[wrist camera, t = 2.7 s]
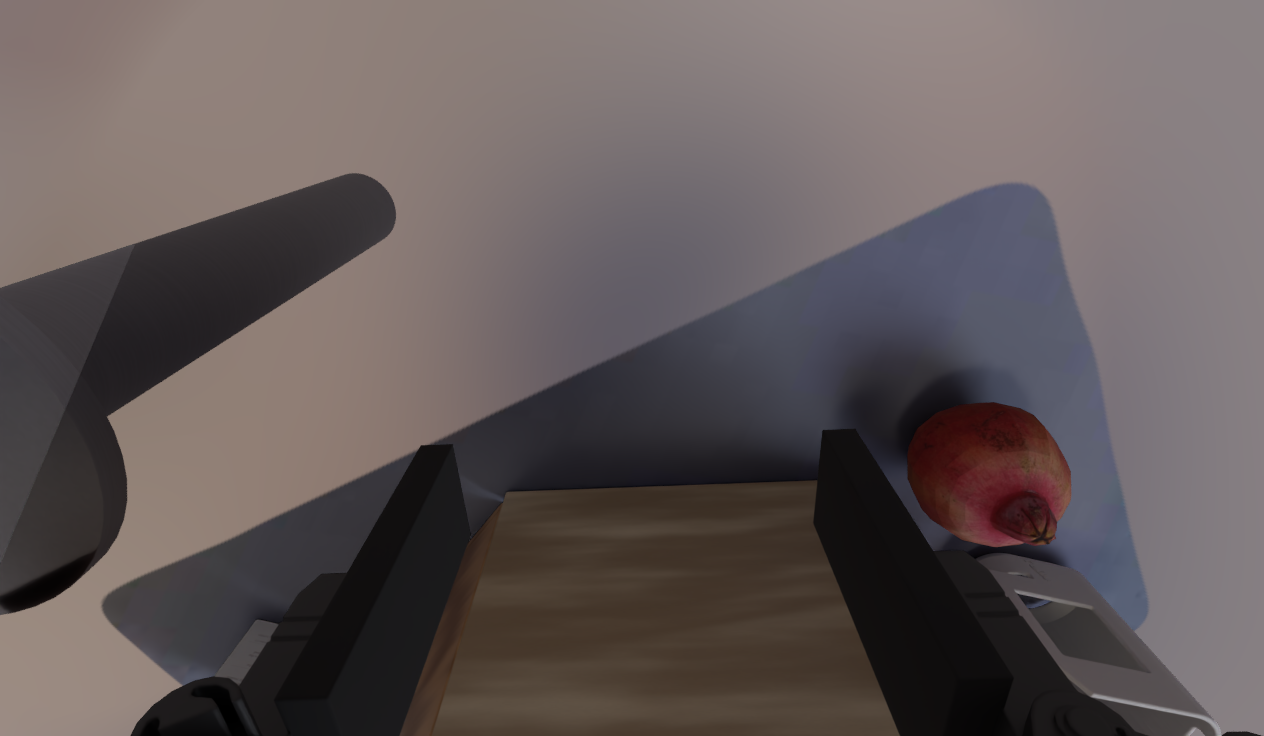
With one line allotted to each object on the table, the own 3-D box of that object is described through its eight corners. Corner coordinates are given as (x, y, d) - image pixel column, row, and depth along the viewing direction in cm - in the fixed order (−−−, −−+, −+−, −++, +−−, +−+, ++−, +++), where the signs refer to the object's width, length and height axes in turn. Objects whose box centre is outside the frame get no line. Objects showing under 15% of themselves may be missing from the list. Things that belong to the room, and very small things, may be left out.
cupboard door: (495, 424, 39) (329, 837, 18) (871, 409, 38) (1165, 815, 17) (507, 502, 41) (377, 944, 20) (860, 489, 41) (1103, 927, 20)
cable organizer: (945, 529, 42) (1053, 684, 32) (1104, 565, 44) (1259, 725, 33) (903, 599, 45) (989, 763, 34) (1053, 630, 46) (1181, 798, 36)
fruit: (896, 498, 41) (970, 616, 32) (874, 399, 38) (950, 498, 29) (1019, 464, 40) (1132, 576, 31) (1008, 359, 37) (1130, 450, 28)
